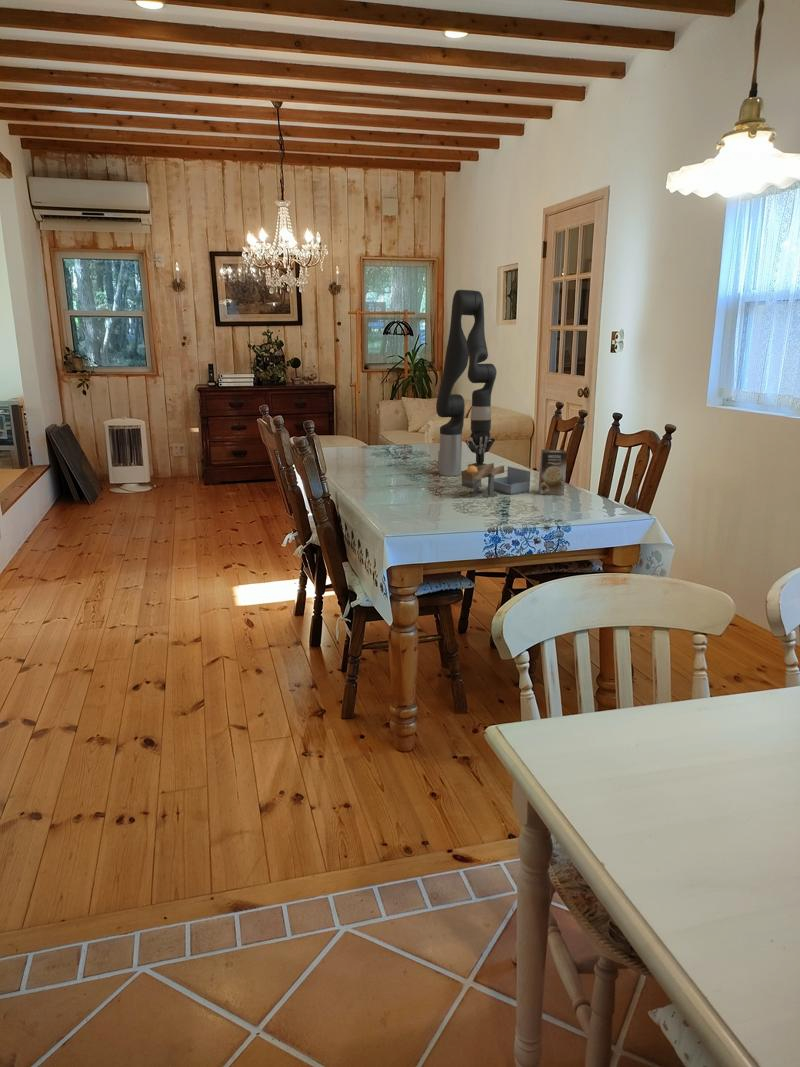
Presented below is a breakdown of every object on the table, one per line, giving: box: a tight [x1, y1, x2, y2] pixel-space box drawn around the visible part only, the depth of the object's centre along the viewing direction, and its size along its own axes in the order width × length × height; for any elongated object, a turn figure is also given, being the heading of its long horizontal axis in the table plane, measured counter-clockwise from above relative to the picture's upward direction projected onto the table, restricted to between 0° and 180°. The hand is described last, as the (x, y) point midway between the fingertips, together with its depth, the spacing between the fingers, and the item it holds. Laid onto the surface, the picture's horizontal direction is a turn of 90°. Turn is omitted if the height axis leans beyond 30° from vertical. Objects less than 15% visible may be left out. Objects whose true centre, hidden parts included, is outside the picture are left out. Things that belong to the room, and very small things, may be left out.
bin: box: [493, 465, 531, 496], centre depth 283 cm, size 9×12×8 cm
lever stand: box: [469, 473, 498, 499], centre depth 276 cm, size 5×11×9 cm, turn 33°
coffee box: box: [538, 449, 568, 496], centre depth 278 cm, size 9×6×16 cm
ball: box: [466, 466, 478, 474], centre depth 272 cm, size 4×4×4 cm
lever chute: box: [460, 462, 505, 490], centre depth 279 cm, size 15×15×6 cm
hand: (479, 463), depth 284 cm, fingers closed
